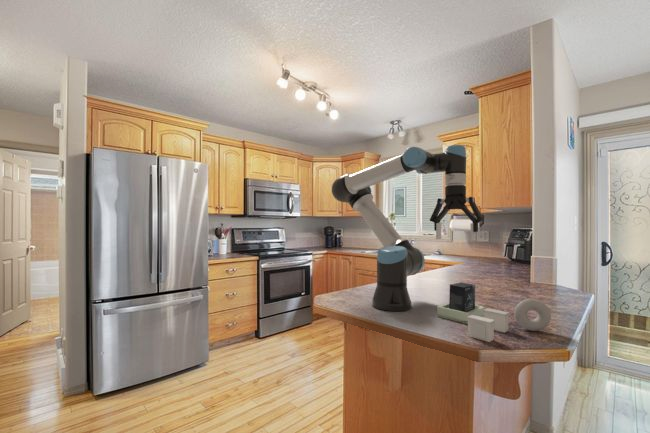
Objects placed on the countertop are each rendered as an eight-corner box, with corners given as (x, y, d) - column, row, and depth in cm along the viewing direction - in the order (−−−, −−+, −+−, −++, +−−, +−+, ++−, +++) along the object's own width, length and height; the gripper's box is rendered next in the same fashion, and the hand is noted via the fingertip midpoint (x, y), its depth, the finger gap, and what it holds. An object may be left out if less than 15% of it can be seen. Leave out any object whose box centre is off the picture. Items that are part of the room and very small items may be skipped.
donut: (516, 331, 95) (516, 298, 95) (512, 327, 98) (512, 296, 99) (553, 334, 93) (553, 301, 93) (547, 330, 96) (547, 298, 96)
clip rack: (466, 336, 90) (466, 317, 90) (487, 325, 100) (487, 307, 101) (489, 342, 85) (489, 322, 85) (509, 330, 96) (509, 312, 96)
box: (464, 318, 104) (464, 286, 104) (448, 314, 109) (448, 284, 109) (475, 314, 109) (475, 284, 109) (460, 310, 113) (460, 281, 114)
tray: (437, 316, 109) (437, 306, 109) (454, 310, 118) (454, 300, 118) (468, 324, 101) (468, 313, 101) (484, 316, 109) (484, 306, 110)
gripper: (421, 187, 127) (421, 238, 126) (485, 181, 108) (485, 242, 108) (430, 188, 132) (430, 238, 131) (493, 183, 113) (493, 241, 113)
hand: (455, 240), depth 120 cm, fingers open, 13 cm apart
